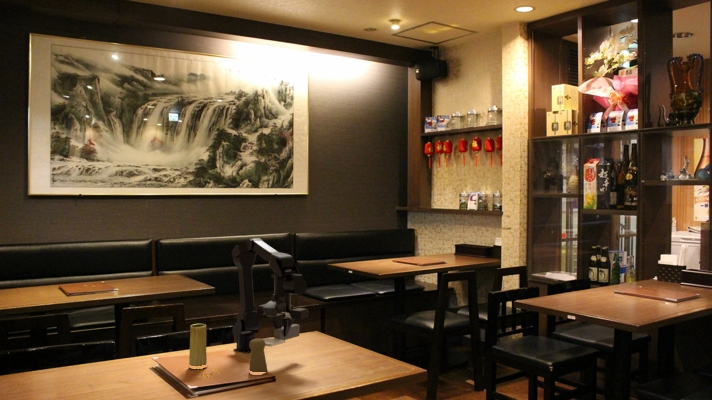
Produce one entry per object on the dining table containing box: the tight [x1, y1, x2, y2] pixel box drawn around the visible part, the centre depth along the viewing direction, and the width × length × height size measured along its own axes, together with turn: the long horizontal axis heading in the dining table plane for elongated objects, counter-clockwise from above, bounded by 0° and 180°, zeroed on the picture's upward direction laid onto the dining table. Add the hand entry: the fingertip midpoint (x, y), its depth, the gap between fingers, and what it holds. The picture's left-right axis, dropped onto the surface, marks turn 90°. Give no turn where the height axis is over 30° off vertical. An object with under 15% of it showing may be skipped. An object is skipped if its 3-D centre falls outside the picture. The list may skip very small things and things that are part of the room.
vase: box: [188, 323, 208, 366], centre depth 201 cm, size 6×6×14 cm
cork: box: [249, 337, 269, 373], centre depth 196 cm, size 6×6×11 cm
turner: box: [262, 323, 301, 348], centre depth 207 cm, size 7×20×4 cm, turn 151°
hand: (282, 336), depth 208 cm, fingers closed on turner, 2 cm apart
